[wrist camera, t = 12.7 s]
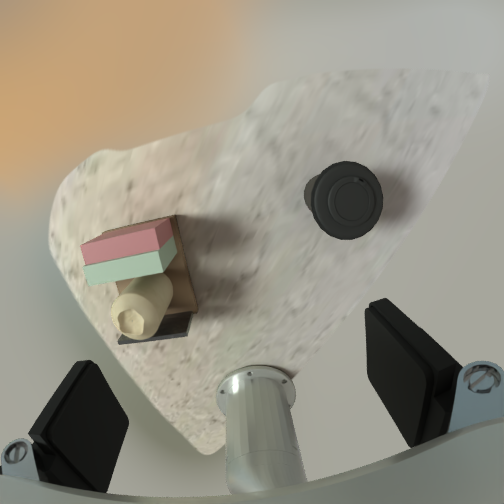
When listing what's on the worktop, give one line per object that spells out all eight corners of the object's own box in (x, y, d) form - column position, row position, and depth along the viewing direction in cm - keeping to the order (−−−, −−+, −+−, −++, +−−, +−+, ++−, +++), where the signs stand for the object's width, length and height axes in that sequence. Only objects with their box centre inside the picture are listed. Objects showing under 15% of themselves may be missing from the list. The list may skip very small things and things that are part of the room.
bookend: (193, 313, 39) (187, 336, 33) (132, 322, 39) (118, 344, 33) (192, 310, 39) (186, 332, 33) (131, 319, 39) (117, 341, 33)
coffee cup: (349, 161, 37) (384, 158, 27) (355, 221, 39) (390, 236, 29) (289, 167, 37) (308, 164, 27) (297, 230, 39) (318, 248, 29)
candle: (182, 292, 38) (167, 330, 29) (152, 315, 39) (131, 355, 29) (154, 260, 37) (130, 288, 27) (125, 284, 38) (96, 317, 28)
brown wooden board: (198, 308, 41) (197, 313, 39) (132, 318, 40) (129, 323, 39) (175, 214, 37) (173, 216, 36) (106, 230, 37) (101, 233, 36)
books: (177, 252, 37) (163, 272, 29) (113, 265, 37) (88, 286, 29) (169, 217, 36) (152, 229, 28) (105, 232, 36) (76, 247, 28)
